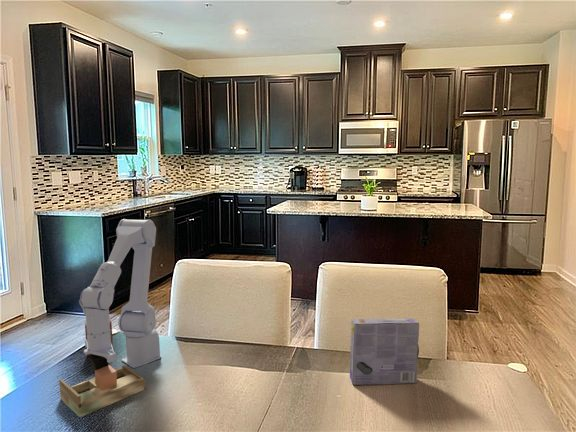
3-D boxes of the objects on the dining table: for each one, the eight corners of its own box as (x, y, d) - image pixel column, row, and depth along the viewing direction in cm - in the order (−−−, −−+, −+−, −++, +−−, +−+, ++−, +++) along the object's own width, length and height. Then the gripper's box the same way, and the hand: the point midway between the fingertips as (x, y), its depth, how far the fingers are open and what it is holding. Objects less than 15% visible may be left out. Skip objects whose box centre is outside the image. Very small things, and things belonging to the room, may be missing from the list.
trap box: (124, 374, 127) (123, 356, 127) (145, 389, 119) (144, 370, 119) (60, 399, 115) (59, 379, 114) (79, 417, 107) (77, 396, 106)
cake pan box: (414, 374, 126) (416, 316, 123) (421, 383, 121) (423, 322, 118) (348, 377, 125) (349, 318, 122) (352, 386, 120) (353, 325, 117)
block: (109, 378, 120) (109, 365, 119) (116, 384, 117) (116, 371, 116) (95, 383, 117) (95, 370, 116) (102, 390, 114) (101, 376, 113)
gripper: (72, 328, 119) (75, 375, 120) (95, 343, 109) (98, 394, 111) (98, 320, 124) (101, 366, 126) (122, 334, 114) (125, 383, 116)
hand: (101, 378), depth 118 cm, fingers closed, pressing on block
